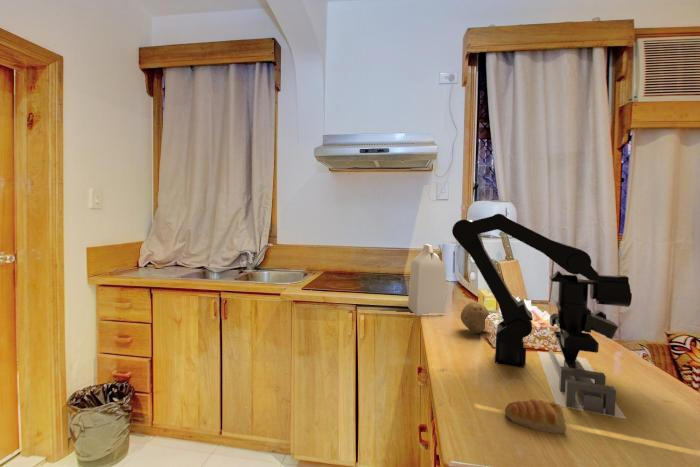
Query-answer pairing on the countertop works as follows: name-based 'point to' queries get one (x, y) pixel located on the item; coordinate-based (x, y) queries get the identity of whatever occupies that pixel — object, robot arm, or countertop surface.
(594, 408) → the long grey bar
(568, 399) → the base with arch frames
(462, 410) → the countertop surface
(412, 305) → the milk
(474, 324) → the brown coconut
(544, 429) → the pastry
